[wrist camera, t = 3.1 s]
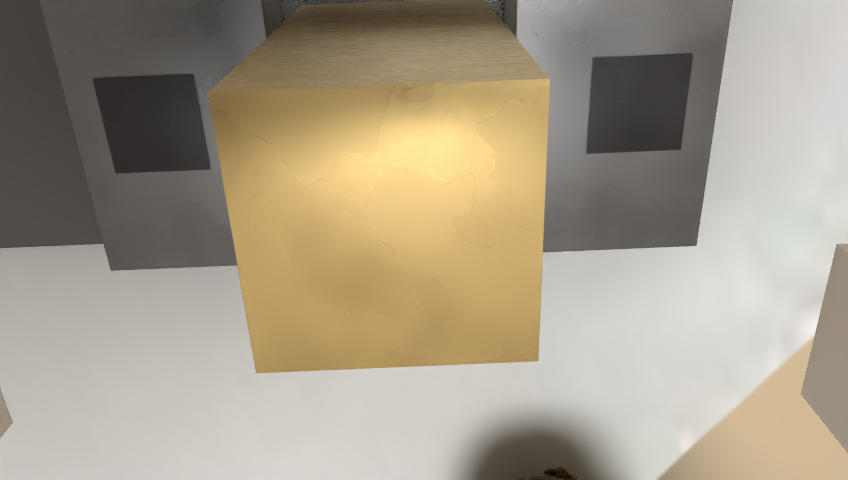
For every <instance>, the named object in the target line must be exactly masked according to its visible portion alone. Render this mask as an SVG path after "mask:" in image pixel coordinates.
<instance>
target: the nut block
mask: <svg viewBox="0 0 848 480" xmlns="http://www.w3.org/2000/svg"><path fill="white" fill-rule="evenodd" d="M549 91H550V78H549V77H548V76H547V75H546V73H545V72H544V71H543V70H542V68H541V67H540V66H539V65H538V64H537V62H536V61H535V60H534V59H533V58H532V56H531V55H530V54H529V53H528V51H527V50H526V49H525V48H524V47H523V45H522V44H521V43H520V42H519V40H518V39H517V38H516V37H515V36H514V34H513V33H512V32H511V31H510V30H509V28H508V27H507V26H506V25H505V23H504V22H503V21H502V20H501V19H500V17H499V16H498V15H497V14H496V12H495V11H494V10H493V9H492V8H491V6H490V5H489V4H488V3H487V2H486V0H408V1H383V2H359V3H335V4H310V5H301V6H300V7H299V8H298V9H297V10H296V11H295V12H294V13H293V14H292V15H290V16H289V17H288V18H287V19H286V20H285V21H284V22H283V23H282V24H281V25H280V26H279V27H278V28H277V29H276V30H274V31H273V32H272V33H271V34H270V35H269V36H268V37H267V38H266V39H265V40H264V41H263V42H262V43H261V44H260V45H258V46H257V47H256V48H255V49H254V50H253V51H252V52H251V53H250V54H249V55H248V56H247V57H246V58H245V59H243V60H242V61H241V62H240V63H239V64H238V65H237V66H236V67H235V68H234V69H233V70H232V71H231V72H230V73H229V74H227V75H226V76H225V77H224V78H223V79H222V80H221V81H220V82H219V83H218V84H217V85H216V86H215V87H214V88H212V89H211V90H210V91H209V92H208V98H209V104H210V109H211V115H212V121H213V127H214V132H215V138H216V144H217V150H218V156H219V161H220V167H221V173H222V179H223V184H224V190H225V196H226V202H227V207H228V213H229V219H230V225H231V231H232V236H233V242H234V248H235V254H236V259H237V265H238V271H239V277H240V282H241V288H242V294H243V300H244V306H245V311H246V317H247V323H248V329H249V334H250V340H251V346H252V352H253V358H254V363H255V369H256V373H270V372H293V371H317V370H340V369H363V368H387V367H410V366H434V365H457V364H480V363H504V362H527V361H538V352H539V329H540V305H541V281H542V257H543V233H544V210H545V186H546V162H547V138H548V114H549Z"/></svg>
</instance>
